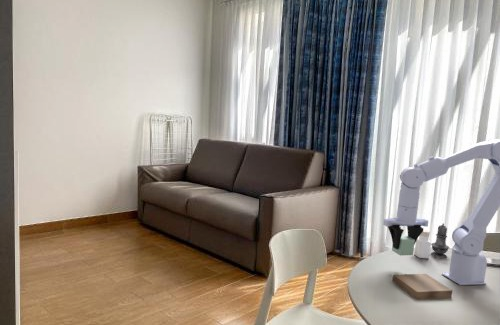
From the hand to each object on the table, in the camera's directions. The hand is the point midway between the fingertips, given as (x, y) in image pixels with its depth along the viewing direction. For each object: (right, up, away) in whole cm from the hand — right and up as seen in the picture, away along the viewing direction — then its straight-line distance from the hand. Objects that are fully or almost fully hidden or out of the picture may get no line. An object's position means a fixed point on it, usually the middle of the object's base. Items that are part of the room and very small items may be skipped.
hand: (402, 248), depth 122 cm
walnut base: (0, -9, -12) cm, 15 cm away
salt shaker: (+20, -7, +18) cm, 28 cm away
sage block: (0, -2, 0) cm, 2 cm away
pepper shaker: (+13, -7, +15) cm, 21 cm away
